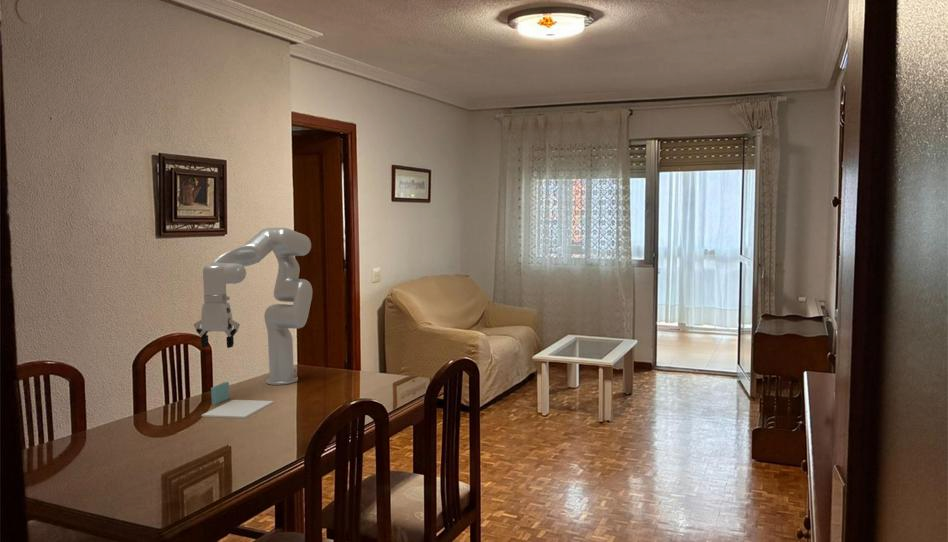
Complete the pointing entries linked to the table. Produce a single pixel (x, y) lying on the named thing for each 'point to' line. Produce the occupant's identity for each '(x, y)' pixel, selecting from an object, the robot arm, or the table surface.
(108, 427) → the table surface
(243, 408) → the mat
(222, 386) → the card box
